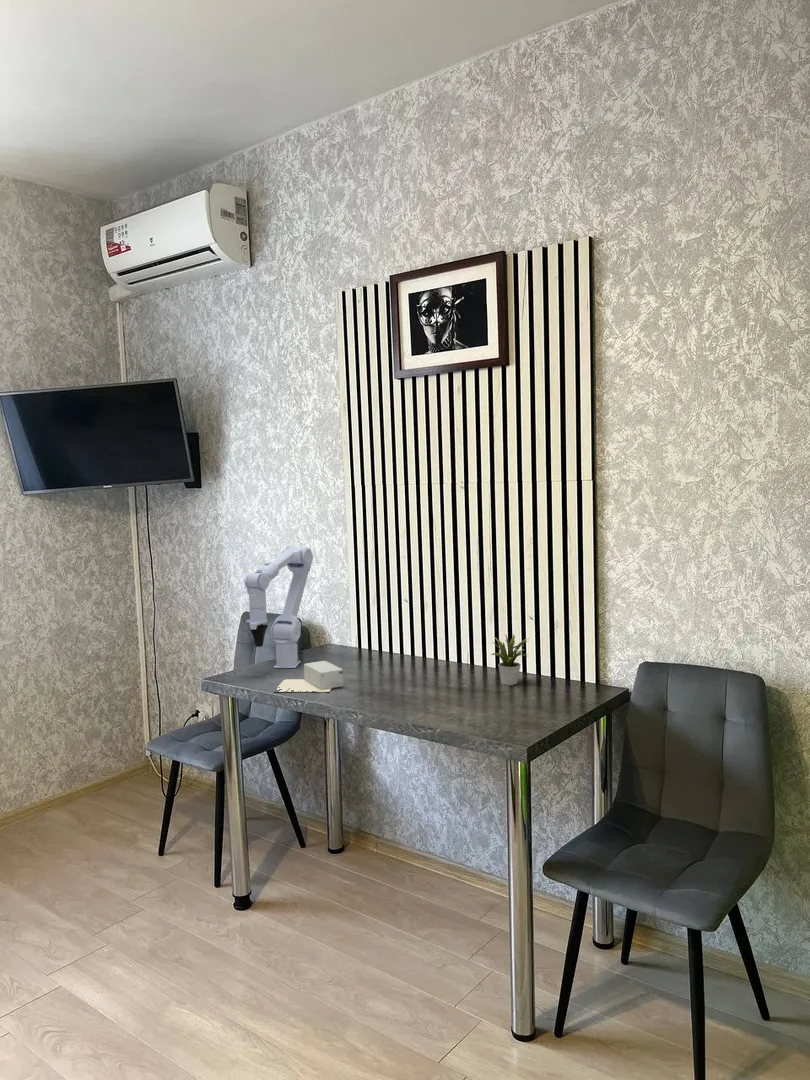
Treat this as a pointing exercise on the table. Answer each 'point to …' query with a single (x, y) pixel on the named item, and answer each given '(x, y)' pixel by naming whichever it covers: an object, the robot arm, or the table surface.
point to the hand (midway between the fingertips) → (259, 646)
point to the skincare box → (323, 674)
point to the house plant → (509, 661)
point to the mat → (299, 686)
